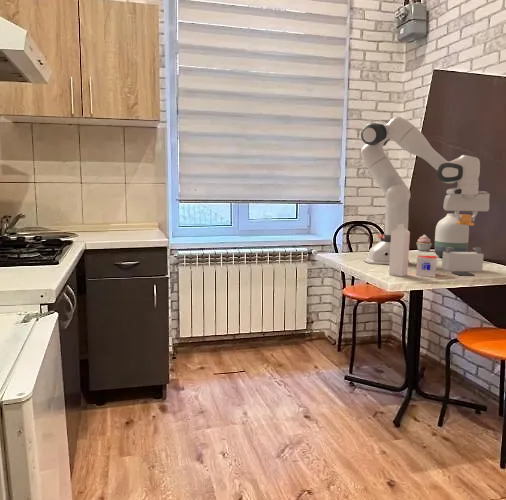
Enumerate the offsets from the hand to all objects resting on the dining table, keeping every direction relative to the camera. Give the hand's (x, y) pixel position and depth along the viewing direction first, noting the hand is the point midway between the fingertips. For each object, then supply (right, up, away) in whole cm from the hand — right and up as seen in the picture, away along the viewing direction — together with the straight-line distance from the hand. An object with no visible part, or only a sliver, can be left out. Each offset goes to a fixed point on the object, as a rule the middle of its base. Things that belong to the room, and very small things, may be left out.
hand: (465, 221), depth 228 cm
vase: (+10, -18, +43) cm, 48 cm away
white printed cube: (-22, -24, -11) cm, 35 cm away
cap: (0, -2, 0) cm, 2 cm away
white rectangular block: (0, -23, +3) cm, 23 cm away
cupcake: (+5, -14, +71) cm, 72 cm away
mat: (-5, -24, -9) cm, 26 cm away
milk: (-35, -24, -13) cm, 45 cm away
